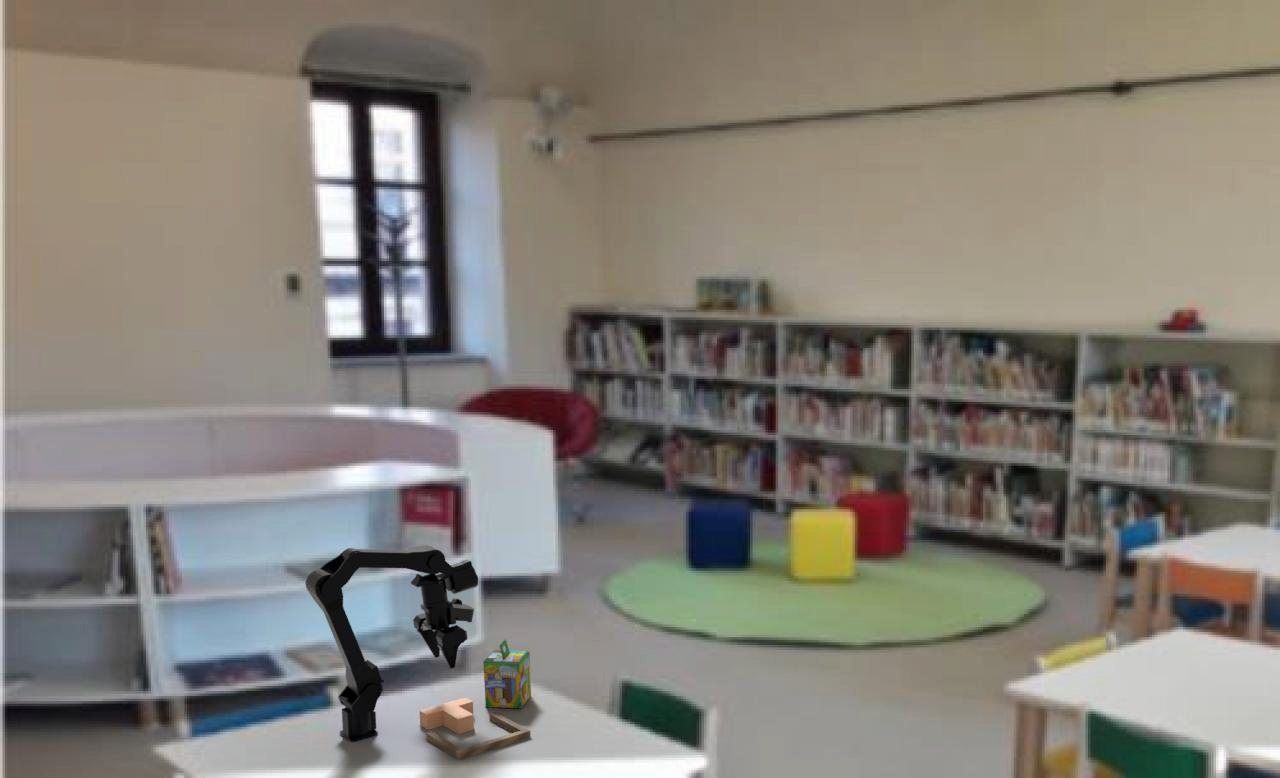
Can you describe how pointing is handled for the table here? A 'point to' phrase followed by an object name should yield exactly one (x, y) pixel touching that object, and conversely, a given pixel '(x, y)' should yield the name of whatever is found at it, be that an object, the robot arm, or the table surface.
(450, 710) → the t block
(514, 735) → the bay
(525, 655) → the chalk box
